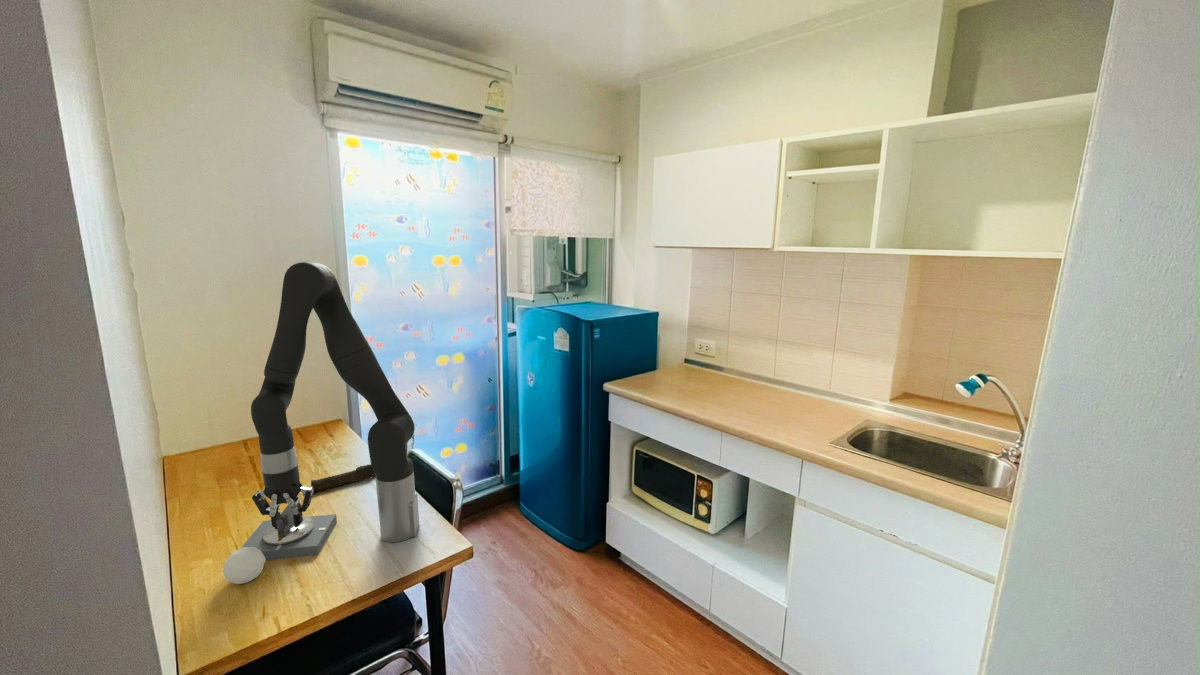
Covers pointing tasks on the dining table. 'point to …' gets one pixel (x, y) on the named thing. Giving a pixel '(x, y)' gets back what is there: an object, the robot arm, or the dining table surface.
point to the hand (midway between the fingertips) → (288, 526)
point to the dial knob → (287, 529)
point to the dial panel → (297, 548)
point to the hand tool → (343, 478)
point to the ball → (244, 565)
